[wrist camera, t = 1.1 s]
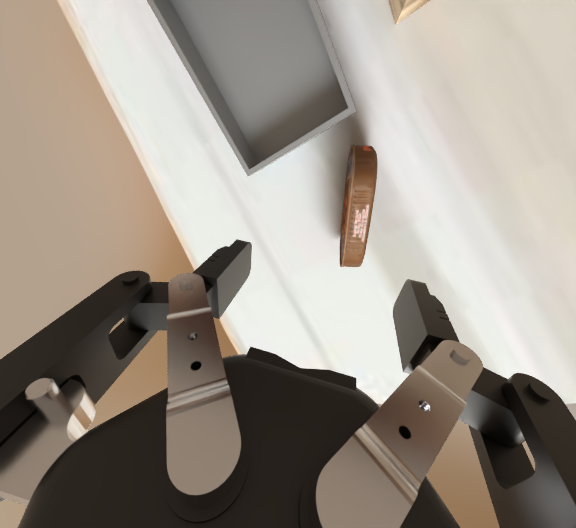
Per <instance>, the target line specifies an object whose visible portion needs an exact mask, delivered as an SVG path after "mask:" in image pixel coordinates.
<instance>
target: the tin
mask: <svg viewBox="0 0 576 528" xmlns="http://www.w3.org/2000/svg"><path fill="white" fill-rule="evenodd" d="M376 179H377V154H376V151H375V150H374V148H373V147H372V146H354V145H352V146H351V149H350V153H349V158H348V166H347V175H346V184H345V194H344V204H343V214H342V224H341V236H340V267H343V266H346V267H359V266H360V265H361V264H362V262H363V259H364V255H365V250H366V244H367V238H368V232H369V227H370V220H371V214H372V207H373V201H374V194H375V187H376Z"/></svg>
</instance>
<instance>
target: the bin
mask: <svg viewBox="0 0 576 528" xmlns="http://www.w3.org/2000/svg"><path fill="white" fill-rule="evenodd" d="M147 2H148V3H149V5H150V7H151V9H152V10H153V12H154V14H155V16H156V17H157V19H158V21H159V22H160V24H161V26H162V28H163V29H164V31H165V33H166V35H167V36H168V38H169V40H170V42H171V43H172V45H173V47H174V49H175V50H176V52H177V54H178V56H179V57H180V59H181V61H182V62H183V64H184V66H185V68H186V69H187V71H188V73H189V75H190V76H191V78H192V80H193V82H194V83H195V85H196V87H197V89H198V90H199V92H200V94H201V96H202V97H203V99H204V101H205V102H206V104H207V106H208V108H209V109H210V111H211V113H212V115H213V116H214V118H215V120H216V122H217V123H218V125H219V127H220V129H221V130H222V132H223V134H224V135H225V137H226V139H227V141H228V142H229V144H230V146H231V148H232V149H233V151H234V153H235V155H236V156H237V158H238V160H239V162H240V163H241V165H242V167H243V169H244V170H245V172H246V174H247V175H248V176H250V175H252V174H254V173H255V172H257V171H259V170H261V169H263V168H264V167H266V166H267V165H269V164H271V163H272V162H274V161H276V160H277V159H279V158H281V157H282V156H284V155H286V154H287V153H289V152H291V151H292V150H294V149H296V148H297V147H299V146H301V145H302V144H304V143H306V142H307V141H309V140H310V139H312V138H314V137H315V136H317V135H319V134H320V133H322V132H324V131H325V130H327V129H329V128H330V127H332V126H334V125H335V124H337V123H339V122H340V121H342V120H344V119H345V118H347V117H348V116H350V115H352V114H353V113H355V112H356V108H355V105H354V102H353V100H352V97H351V94H350V91H349V89H348V86H347V83H346V80H345V78H344V75H343V72H342V69H341V67H340V64H339V61H338V58H337V56H336V53H335V50H334V47H333V45H332V42H331V39H330V36H329V34H328V31H327V28H326V25H325V23H324V20H323V17H322V14H321V12H320V9H319V6H318V3H317V1H316V0H147Z"/></svg>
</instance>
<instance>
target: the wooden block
mask: <svg viewBox="0 0 576 528" xmlns="http://www.w3.org/2000/svg"><path fill="white" fill-rule="evenodd" d="M428 1H430V0H389V3H390V6H391V10H392V14H393V17H394V21H395V25H396V24H398V23H399V22H400V21H402V20H403V19H405V18H406V17H407V16H409V15H410V14H412V13H413V12H414V11H416V10H417V9H419V8H420V7H421V6H423V5H424V4H426V3H427V2H428Z"/></svg>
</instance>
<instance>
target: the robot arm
mask: <svg viewBox="0 0 576 528" xmlns="http://www.w3.org/2000/svg"><path fill="white" fill-rule="evenodd" d="M251 250H252V245H251V243H250V242H246V241H241V240H236V241H235V242H234V243H233V244H232V245H231V246H230V247H227V246H225V247H223V248H220V249H218V250H217V251H216V252H214V253H213V254H212V256H210V257H209V258H208V260H206V261H205V262H204V263H203V264H202V265H201V266H200V267H198V268H197V269H196V270H195V271H194V272H193V273H185V274H180V275H177V276H175V277H174V278H172V279H171V280H170V282H151V280H150V276H149V274H147V273H145V272H143V271H129V272H125V273H122V274H120V275H118V276H116V277H115V278H113V279H112V280H111V281H109V282H108V283H107V284H105V285H104V286H102V287H101V288H100V289H98V290H97V291H95V292H94V293H93V294H91V295H90V296H88V297H87V298H86V299H84V300H83V301H81V302H80V303H79V304H77V305H76V306H74V307H73V308H72V309H70V310H69V311H67V312H66V313H65V314H63V315H62V316H60V317H59V318H58V319H56V320H55V321H54V322H52V323H51V324H49V325H48V326H47V327H45V328H44V329H42V330H41V331H40V332H38V333H37V334H35V335H34V336H33V337H31V338H30V339H28V340H27V341H26V342H24V343H23V344H22V345H20V346H19V347H17V348H16V349H14V350H13V351H12V352H10V353H9V354H7V355H6V356H5V357H3V358H2V359H0V501H2V500H5V499H8V500H11V501H14V502H18V503H20V504H24V505H27V508H26V510H25V513H24V515H23V518H22V520H21V522H20V524H19V526H18V528H460V527H459V525H458V524H457V522H456V521H455V519H454V518H453V516H452V514H451V513H450V511H449V510H448V508H447V507H446V505H445V504H444V503H443V501H442V500H441V498H440V496H439V495H438V494H437V492H436V490H435V489H434V487H433V486H432V484H431V483H430V481H429V480H428V479H427V477H426V474H427V473H428V471H429V469H430V467H431V466H432V464H433V462H434V460H435V459H436V457H437V455H438V453H439V452H440V450H441V448H442V446H443V445H444V443H445V441H446V440H447V438H448V436H449V434H450V432H451V431H452V429H453V427H454V426H455V424H456V422H457V420H458V419H459V420H461V421H463V422H464V423H466V424H468V425H469V428H470V431H471V435H472V438H473V441H474V445H475V448H476V451H477V454H478V458H479V461H480V464H481V467H482V471H483V474H484V477H485V480H486V484H487V487H488V490H489V494H490V497H491V500H492V504H493V507H494V510H495V513H496V516H497V520H498V523H499V526H500V528H576V420H575V419H574V417H573V416H572V414H571V413H570V411H569V410H568V408H567V407H566V405H565V404H564V402H563V401H562V399H561V398H560V397H559V396H558V395H557V394H556V393H555V392H554V391H553V390H552V389H551V388H550V387H549V386H547V385H546V384H544V383H543V382H541V381H540V380H538V379H536V378H534V377H532V376H529V375H527V374H522V373H516V374H514V375H512V376H511V377H510V378H509V379H506V378H504V377H502V376H500V375H498V374H496V373H494V372H492V371H490V370H488V369H486V368H484V367H483V364H482V361H481V360H480V358H479V357H478V356H477V354H476V353H475V352H474V351H472V350H471V349H470V348H468V347H467V346H465V345H463V344H461V343H460V342H459V340H458V337H457V335H456V333H455V331H454V329H453V326H452V324H451V322H450V321H449V318H448V315H447V314H446V311H445V309H444V307H443V305H442V303H441V302H440V301H439V300H438V299H437V298H436V297H435V296H433V295H430V293H429V291H428V288H427V286H426V284H425V283H422V282H418V281H414V280H409V279H408V280H407V281H406V282H405V284H404V286H403V288H402V290H401V292H400V294H399V296H398V298H397V300H396V302H395V305H394V308H393V318H394V324H395V329H396V335H397V340H398V346H399V351H400V357H401V362H402V368H403V372H405V373H409V374H410V375H409V376H408V377H407V378H406V379H405V380H404V381H403V383H402V384H401V385H400V386H399V387H398V388H397V389H396V390H395V391H394V392H393V394H392V395H391V396H390V397H389V398H388V399H387V400H386V401H385V402H384V403H383V405H382V406H381V407H379V406H378V405H377V404H376V403H375V402H374V401H373V400H372V399H371V398H370V397H369V396H368V395H367V394H365V393H364V392H362V391H361V390H359V389H358V388H356V378H354V377H351V376H348V375H344V374H341V373H337V372H334V371H331V370H320V369H303V368H299V367H297V366H295V365H293V364H292V363H290V362H288V361H286V360H285V359H283V358H281V357H279V356H278V355H276V354H273V353H270V352H266V351H263V350H260V349H256V348H253V347H250V349H249V351H248V353H247V355H245V354H242V355H233V356H228V357H225V358H222V356H221V351H220V346H219V342H218V337H217V333H216V328H215V323H214V319H213V317H215V318H218V319H220V317H221V316H222V314H223V313H224V311H225V310H226V308H227V307H228V306H229V304H230V303H231V301H232V300H233V298H234V297H235V295H236V294H237V292H238V291H239V290H240V288H241V287H242V285H243V284H244V282H245V281H246V279H247V278H248V276H249V273H250V269H251ZM122 318H124V321H123V322H122V323H121V324H120V325H119V326H118V327H116V328H115V329H114V330H113V331H112V332H111V333H110V331H111V329H112V328H113V326H114V325H116V324H117V323H118V322H119V321H120V320H121V319H122ZM158 330H167V359H168V360H167V361H168V362H167V363H168V388H166V389H164V390H162V391H160V392H159V393H157V394H155V395H153V396H151V397H150V398H148V399H146V400H144V401H142V402H141V403H139V404H137V405H135V406H133V407H131V408H130V409H128V410H126V411H124V412H122V413H120V414H119V415H117V416H115V417H113V418H111V419H109V420H108V421H106V422H104V423H102V424H100V425H98V426H97V427H95V428H93V429H92V430H90V431H88V427H89V426H90V424H91V423H92V421H93V419H94V416H95V412H96V408H95V404H96V403H97V401H98V400H99V399H100V398H101V397H102V396H103V395H104V393H105V392H106V391H107V390H108V389H109V387H110V386H111V385H112V384H113V383H114V381H115V380H116V379H117V378H118V377H119V376H120V375H121V373H122V372H123V371H124V370H125V369H126V367H127V366H128V365H129V364H130V363H131V362H132V360H133V359H134V358H135V357H136V356H137V355H138V353H139V352H140V351H141V350H142V349H143V347H144V346H145V345H146V344H147V343H148V342H149V340H150V339H151V338H152V337H153V336H154V335H155V333H156V332H157V331H158ZM109 333H110V334H109ZM524 441H526V443H527V445H528V447H529V449H530V451H531V453H532V455H533V458H534V460H535V471H534V469H533V467H532V465H531V462H530V460H529V458H528V456H527V454H526V451H525V449H524V447H523V445H522V443H523V442H524Z"/></svg>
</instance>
